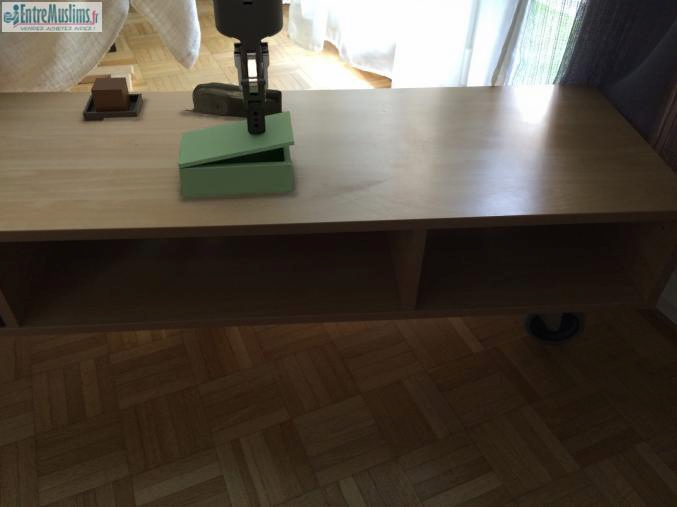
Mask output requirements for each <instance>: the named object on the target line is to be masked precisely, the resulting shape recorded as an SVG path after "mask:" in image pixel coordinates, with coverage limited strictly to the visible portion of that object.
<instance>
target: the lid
mask: <svg viewBox="0 0 677 507" xmlns="http://www.w3.org/2000/svg"><path fill="white" fill-rule="evenodd" d="M292 124H293V123H292V118H291V112H290V110H287V111H282V113H278V114H273V115H268V116H265V126H266V131H265V133H263V134H250V133H249V132H248V127H247V119H244V120H243V119H242V120H239V121H233V122H229V123H224V124H219V125H214V126H210V127H209V126H208V127H204V128H200V129H194V130H189V131H184V132H182V133H181V140H180V147H179V153H178V160H177V161H178V162H177V166H178V169H179V168H183V167H188V166H193V165H198V164H203V163H208V162H213V161H218V160H223V159H227V158H232V157H237V156H242V155H247V154H252V153H257V152H262V151H267V150H272V149H277V148H282V147H287V146H289V147H291V146H295V139H294V132H293V131H294V130H293V125H292Z"/></svg>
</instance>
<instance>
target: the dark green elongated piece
mask: <svg viewBox="0 0 677 507" xmlns="http://www.w3.org/2000/svg"><path fill="white" fill-rule="evenodd" d="M265 93H266V97H265V99H266V103H267V105H265V108H264V109H265V116H268V115H273V114H278V113H283V93H282V91H281V90H278V89H272V88H271V89H270V88H268V89H267V90H265ZM191 94H192V95H191V96H192V103H193V108H192V109H185V110H184V113H199V114H205V115H206V114H207V115H214V116H221V117H223V116H224V117H235V118H246V119H247V114H246V109H245V107H244V106H243V100H244V98H243V91H241V90H240V89H239V84H238V85H237V84H233V83H225V82H218V81H217V82H216V81H215V82H214V81H212V82H206V83H199V84H197V85H196V86H195V87H194V89H193V91H192V93H191Z"/></svg>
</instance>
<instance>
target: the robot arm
mask: <svg viewBox="0 0 677 507" xmlns="http://www.w3.org/2000/svg"><path fill="white" fill-rule="evenodd" d="M283 2H284V0H212V6H213V15H214V26H215V29H216V31H217V32H218V34H220V35H221V36H224V37H227V38H229V39H236V40H237V42H233V60H234V67H235V68H236V69H237V70H236V71H237V80H238V82H237V83H238V86H239V89H240V90H241V91H243V98H244V100H243V106H244V107H245V109H246V114H247V118H246V120H247V127H248V132H249V133H250V134H263V133H265V131H266V126H265V109H264V108H265V105H267V103H266V99H265V97H266V93H265V90H267V89H269V71H268V69H269V67H270V66H271V65H270V64H271V63H270V49H269V42H268V41H262V40H264V39H265V38H271V37H274V36H276V35H277V34H279V33H280V32H281V31H282V30H283V28H284V4H283ZM238 41H239V42H238Z"/></svg>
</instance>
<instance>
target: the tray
mask: <svg viewBox="0 0 677 507" xmlns="http://www.w3.org/2000/svg"><path fill="white" fill-rule="evenodd" d="M129 97H130V102H131V105H130V108H129V111H107V112H96V109H95V105H94V101H93V97H92V94H90V96H89V98H88V100H87V103H86V105H85V107H84V110H83V112H82V116H83V120H84V122H95V121H97V122H98V121H104V119H109V118H110V119H111V118H113V119H114V118H138V117H139V113H141V109H142V105H143V103H144V100H143V95H142V93H129Z"/></svg>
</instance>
